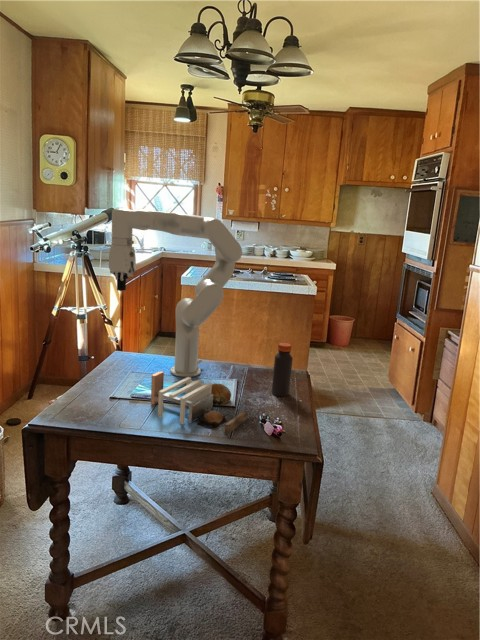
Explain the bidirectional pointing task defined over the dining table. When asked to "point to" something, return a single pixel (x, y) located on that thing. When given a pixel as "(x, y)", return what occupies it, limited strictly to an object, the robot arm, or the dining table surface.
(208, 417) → the bread roll
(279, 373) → the bottle
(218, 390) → the bread roll
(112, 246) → the robot arm
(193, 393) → the white slatted rack
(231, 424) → the bar
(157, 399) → the rod with wooden block
